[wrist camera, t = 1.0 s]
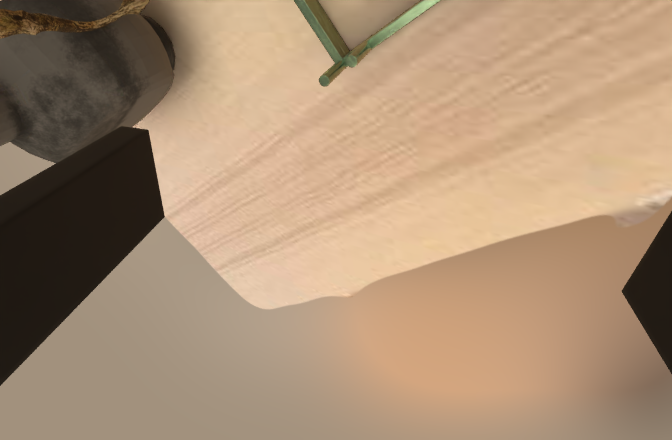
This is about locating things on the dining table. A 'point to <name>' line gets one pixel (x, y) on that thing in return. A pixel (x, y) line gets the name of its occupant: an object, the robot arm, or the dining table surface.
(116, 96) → the pitcher
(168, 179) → the dining table surface
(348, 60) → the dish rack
